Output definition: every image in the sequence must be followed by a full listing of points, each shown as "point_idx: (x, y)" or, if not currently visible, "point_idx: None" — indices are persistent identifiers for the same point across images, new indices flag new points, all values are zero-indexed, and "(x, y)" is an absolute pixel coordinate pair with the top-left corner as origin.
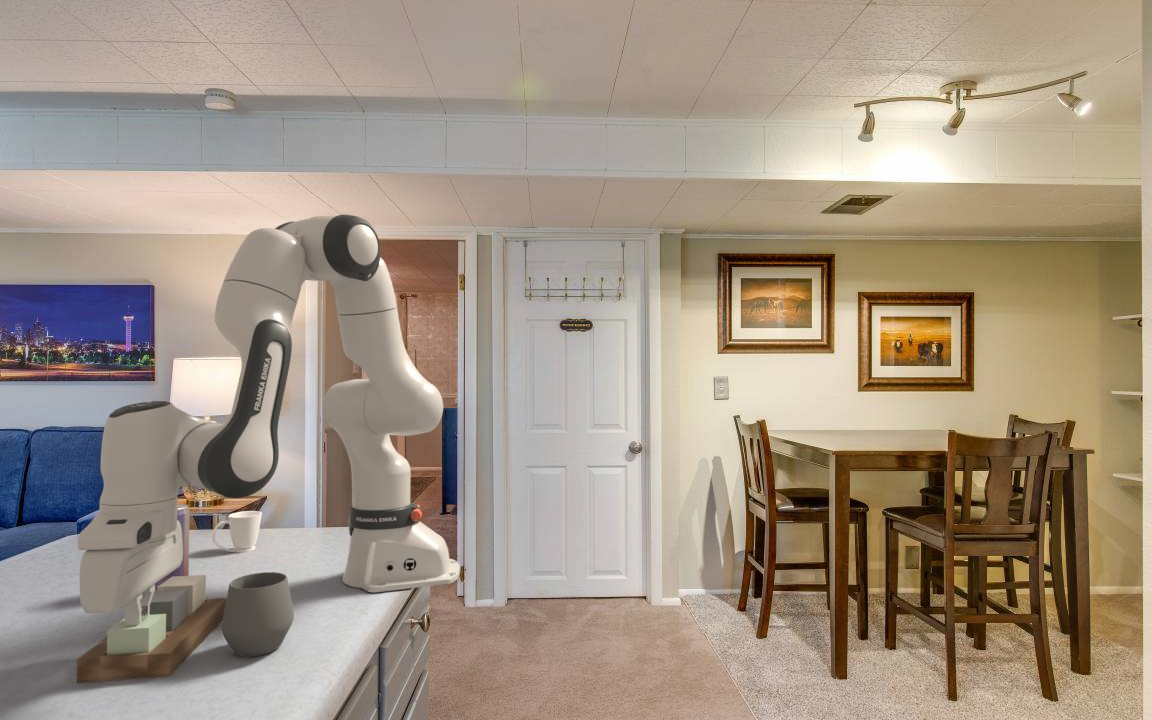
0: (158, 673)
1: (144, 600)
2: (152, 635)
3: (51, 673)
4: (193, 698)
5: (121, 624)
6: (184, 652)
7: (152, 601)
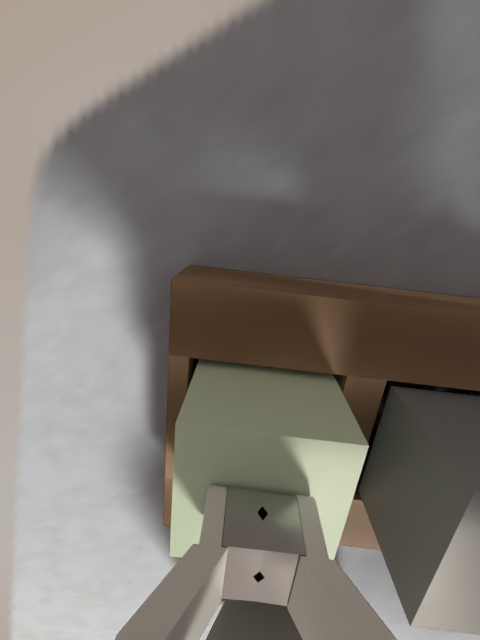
0: None
1: (311, 632)
2: None
3: (290, 143)
4: (62, 528)
5: (243, 456)
6: None
7: (458, 558)
